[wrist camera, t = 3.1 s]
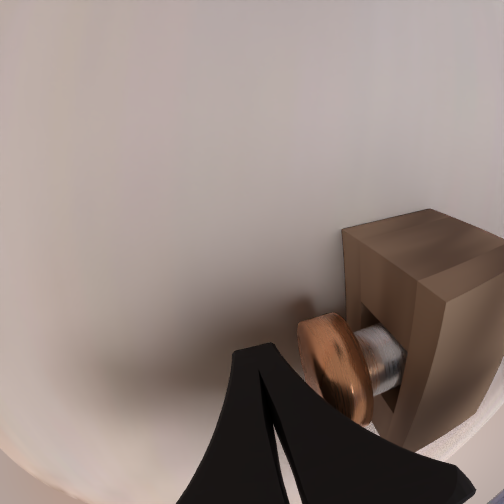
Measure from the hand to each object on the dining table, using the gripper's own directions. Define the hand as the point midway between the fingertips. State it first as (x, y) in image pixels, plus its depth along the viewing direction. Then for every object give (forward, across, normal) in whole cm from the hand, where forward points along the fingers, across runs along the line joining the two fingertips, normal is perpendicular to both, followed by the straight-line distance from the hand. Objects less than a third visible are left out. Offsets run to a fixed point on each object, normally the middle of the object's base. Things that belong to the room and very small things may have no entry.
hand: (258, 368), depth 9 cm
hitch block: (+1, -6, 0) cm, 6 cm away
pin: (+1, -5, 0) cm, 5 cm away
